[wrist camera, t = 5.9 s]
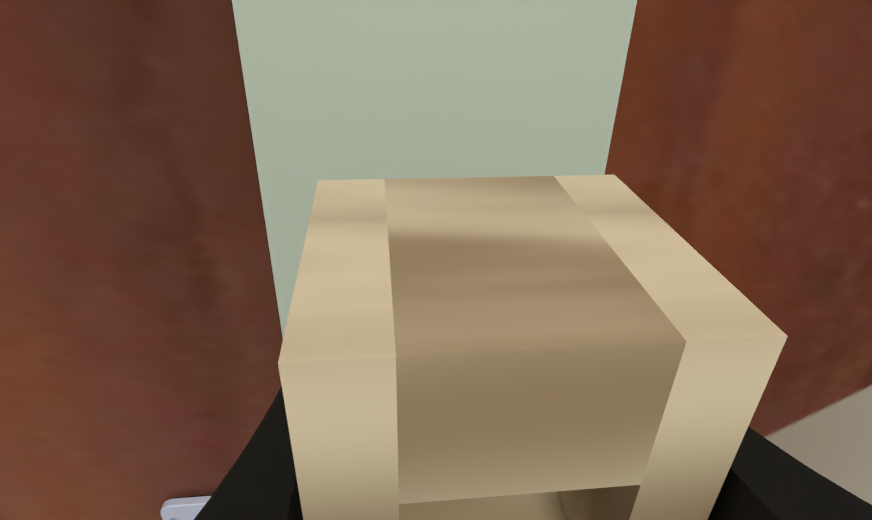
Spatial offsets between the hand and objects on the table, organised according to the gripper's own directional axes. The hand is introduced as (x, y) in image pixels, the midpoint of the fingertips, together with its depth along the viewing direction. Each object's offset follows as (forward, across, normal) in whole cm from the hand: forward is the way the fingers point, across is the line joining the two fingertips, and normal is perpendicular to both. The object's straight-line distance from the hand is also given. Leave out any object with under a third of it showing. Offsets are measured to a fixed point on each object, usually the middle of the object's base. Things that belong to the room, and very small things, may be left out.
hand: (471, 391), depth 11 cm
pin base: (+8, 0, 0) cm, 8 cm away
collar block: (+1, 0, 0) cm, 1 cm away
